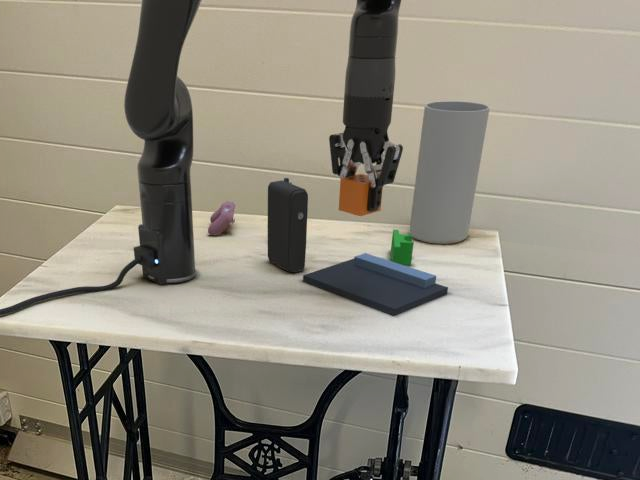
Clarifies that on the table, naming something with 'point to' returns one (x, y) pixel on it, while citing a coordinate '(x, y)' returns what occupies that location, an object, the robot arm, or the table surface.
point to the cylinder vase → (447, 170)
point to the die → (355, 195)
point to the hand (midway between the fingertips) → (359, 206)
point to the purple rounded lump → (222, 218)
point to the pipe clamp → (401, 248)
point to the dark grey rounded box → (287, 225)
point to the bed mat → (378, 283)
